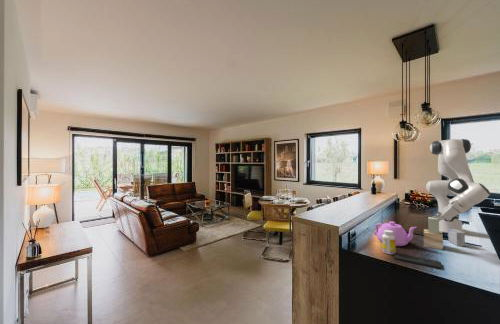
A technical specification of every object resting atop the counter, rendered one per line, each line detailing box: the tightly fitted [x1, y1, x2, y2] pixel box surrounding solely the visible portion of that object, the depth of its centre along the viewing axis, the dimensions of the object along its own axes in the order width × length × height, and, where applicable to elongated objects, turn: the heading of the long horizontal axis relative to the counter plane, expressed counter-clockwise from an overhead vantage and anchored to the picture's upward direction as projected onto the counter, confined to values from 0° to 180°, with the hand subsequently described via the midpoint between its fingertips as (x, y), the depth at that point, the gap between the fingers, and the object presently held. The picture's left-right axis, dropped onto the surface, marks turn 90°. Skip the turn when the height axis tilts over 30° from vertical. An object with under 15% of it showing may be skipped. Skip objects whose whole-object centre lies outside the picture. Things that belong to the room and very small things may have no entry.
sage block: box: [427, 216, 439, 234], centre depth 136 cm, size 5×5×9 cm
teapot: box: [374, 220, 417, 247], centre depth 143 cm, size 25×18×14 cm
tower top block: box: [423, 228, 444, 244], centre depth 137 cm, size 9×9×4 cm
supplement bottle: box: [381, 230, 397, 256], centre depth 128 cm, size 7×7×13 cm
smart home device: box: [393, 252, 443, 270], centre depth 116 cm, size 8×2×20 cm
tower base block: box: [423, 239, 444, 251], centre depth 137 cm, size 9×9×4 cm
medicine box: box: [447, 229, 466, 247], centre depth 139 cm, size 8×4×9 cm, turn 168°
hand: (437, 218), depth 135 cm, fingers open, 8 cm apart
